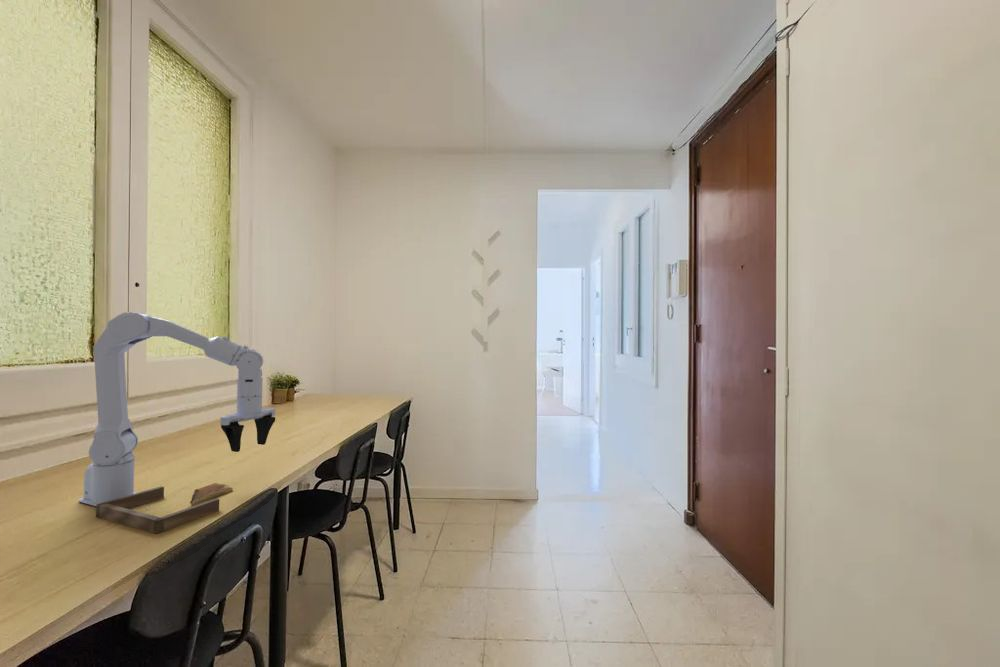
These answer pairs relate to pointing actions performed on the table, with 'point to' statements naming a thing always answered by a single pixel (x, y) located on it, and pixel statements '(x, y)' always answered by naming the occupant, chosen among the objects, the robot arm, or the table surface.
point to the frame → (121, 514)
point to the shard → (209, 492)
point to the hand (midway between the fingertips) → (248, 447)
